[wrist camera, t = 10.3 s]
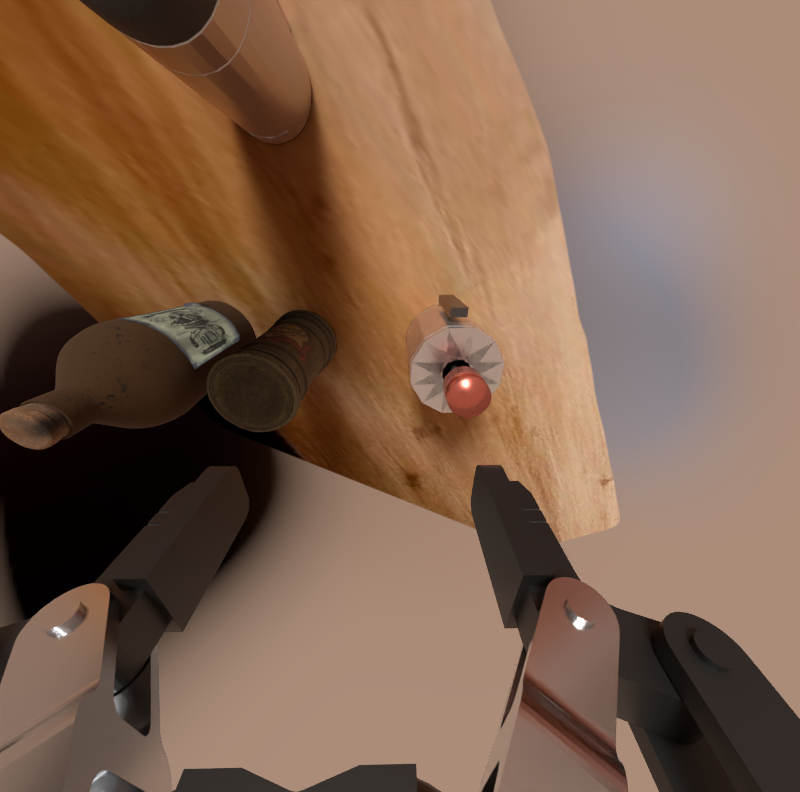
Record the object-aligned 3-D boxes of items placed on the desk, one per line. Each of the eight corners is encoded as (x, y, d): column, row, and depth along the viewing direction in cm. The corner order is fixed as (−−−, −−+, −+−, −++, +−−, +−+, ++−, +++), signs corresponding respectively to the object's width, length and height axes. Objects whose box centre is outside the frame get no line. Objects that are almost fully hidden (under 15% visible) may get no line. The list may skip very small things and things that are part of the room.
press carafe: (407, 292, 39) (411, 310, 28) (480, 292, 39) (514, 310, 28) (406, 371, 45) (409, 413, 33) (470, 371, 45) (495, 413, 33)
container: (343, 362, 44) (314, 428, 28) (288, 372, 44) (228, 442, 28) (326, 303, 40) (280, 340, 24) (265, 315, 40) (180, 359, 24)
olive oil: (238, 380, 45) (85, 508, 23) (171, 336, 41) (-84, 437, 19) (273, 330, 41) (132, 426, 19) (203, 278, 38) (-66, 321, 16)
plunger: (418, 318, 39) (432, 361, 24) (469, 318, 39) (516, 361, 24) (416, 366, 42) (428, 431, 27) (464, 366, 43) (501, 431, 27)
